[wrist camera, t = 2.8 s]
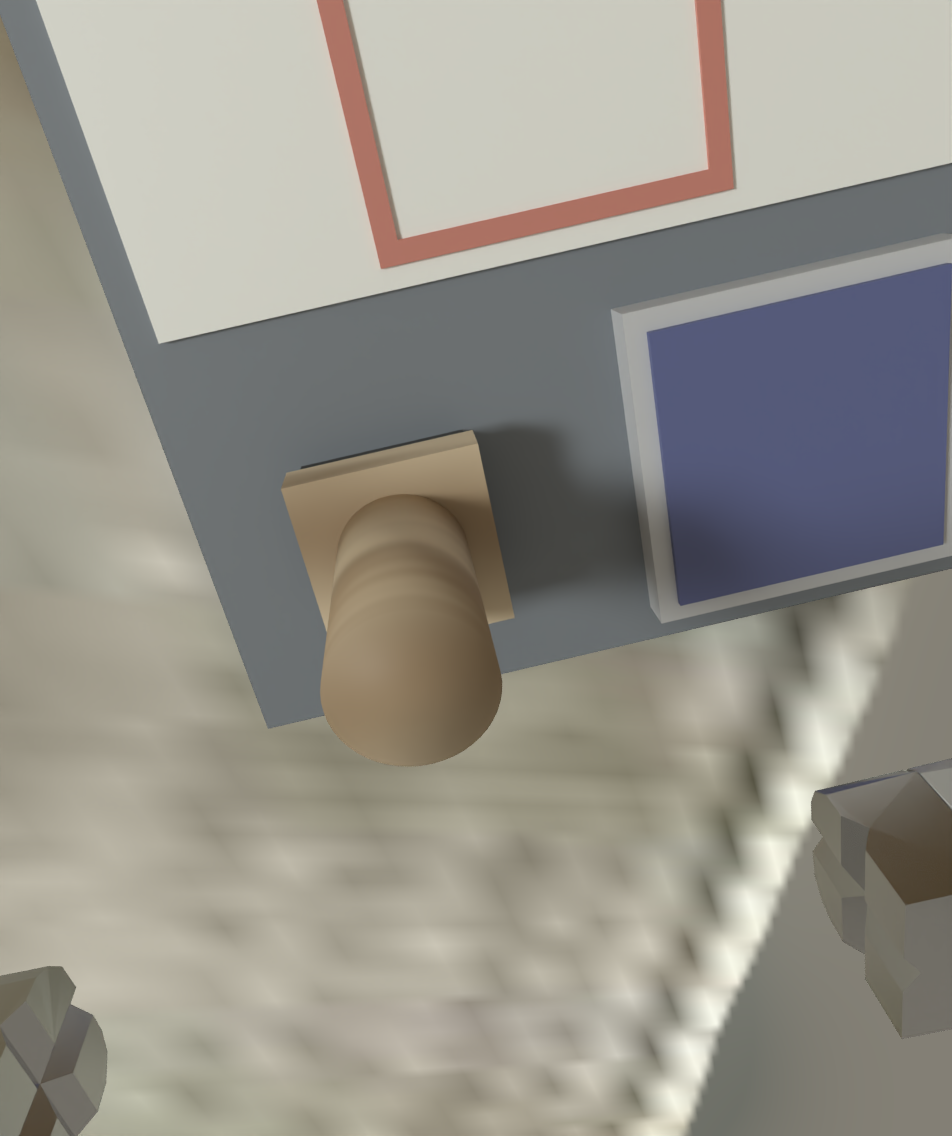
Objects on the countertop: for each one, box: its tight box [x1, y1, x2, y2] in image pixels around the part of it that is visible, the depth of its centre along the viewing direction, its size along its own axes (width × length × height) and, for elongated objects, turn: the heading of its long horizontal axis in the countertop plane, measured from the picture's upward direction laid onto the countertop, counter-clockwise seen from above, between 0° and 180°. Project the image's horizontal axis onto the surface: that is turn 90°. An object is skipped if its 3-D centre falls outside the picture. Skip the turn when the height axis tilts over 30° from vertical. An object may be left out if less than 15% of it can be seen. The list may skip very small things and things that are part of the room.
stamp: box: [281, 430, 515, 766], centre depth 17 cm, size 4×4×8 cm
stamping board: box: [0, 0, 952, 729], centre depth 19 cm, size 20×20×2 cm
